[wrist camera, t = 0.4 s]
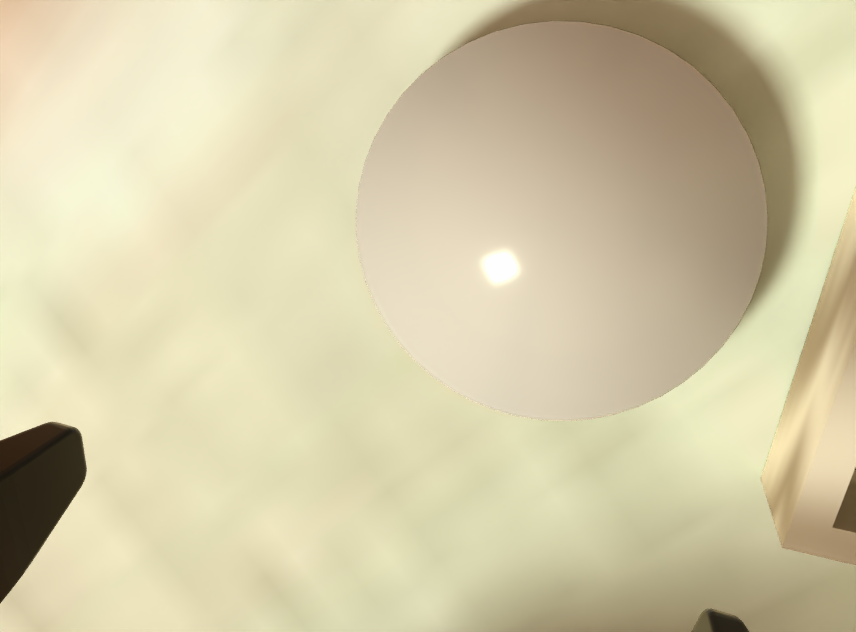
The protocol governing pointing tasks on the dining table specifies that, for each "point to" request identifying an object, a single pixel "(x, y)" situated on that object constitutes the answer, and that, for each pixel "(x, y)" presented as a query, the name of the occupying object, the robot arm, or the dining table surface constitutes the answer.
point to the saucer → (561, 220)
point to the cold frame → (821, 423)
